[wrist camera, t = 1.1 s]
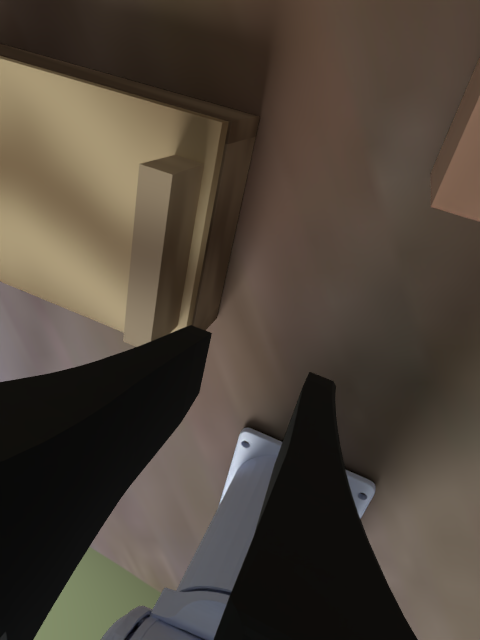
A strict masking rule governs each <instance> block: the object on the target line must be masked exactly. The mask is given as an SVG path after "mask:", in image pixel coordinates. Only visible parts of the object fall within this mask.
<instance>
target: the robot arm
mask: <svg viewBox="0 0 480 640" xmlns="http://www.w3.org/2000/svg"><path fill="white" fill-rule="evenodd" d="M211 334H212V333H210V332H207V331H205V330H202V329H200V328H197V327H195V326H192V325H189V326H187V327H184V328H182V329H179V330H177V331H175V332H172V333H170V334H167V335H165V336H163V337H160V338H158V339H156V340H153V341H151V342H148V343H146V344H143V345H140V346H138V347H135V348H133V349H130V350H128V351H125V352H122V353H119V354H116V355H113V356H110V357H107V358H104V359H101V360H98V361H95V362H92V363H89V364H85V365H82V366H78V367H75V368H70V369H66V370H62V371H58V372H54V373H49V374H45V375H39V376H33V377H28V378H22V379H16V380H11V381H5V382H0V640H33V639H34V637H35V636H36V634H37V632H38V630H39V629H40V627H41V625H42V624H43V621H44V620H45V618H46V617H47V615H48V613H49V611H50V610H51V608H52V606H53V605H54V603H55V601H56V600H57V598H58V597H59V595H60V593H61V592H62V590H63V588H64V587H65V585H66V583H67V582H68V580H69V578H70V577H71V575H72V573H73V571H74V570H75V568H76V567H77V565H78V564H79V562H80V561H81V559H82V557H83V556H84V554H85V553H86V551H87V549H88V548H89V546H90V545H91V543H92V542H93V540H94V538H95V537H96V535H97V534H98V532H99V531H100V529H101V527H102V526H103V524H104V523H105V521H106V520H107V518H108V517H109V515H110V514H111V512H112V511H113V509H114V508H115V506H116V505H117V503H118V502H119V500H120V499H121V497H122V496H123V495H124V493H125V492H126V491H127V489H128V488H129V486H130V485H131V484H132V483H133V481H134V480H135V479H136V478H137V476H138V475H139V474H140V473H141V472H142V470H143V469H144V468H145V467H146V465H147V464H148V463H149V462H150V460H151V459H152V458H153V457H154V456H155V454H156V453H157V452H158V451H159V449H160V448H161V447H162V446H163V444H164V443H165V442H166V441H167V439H168V438H169V437H170V436H171V434H172V433H173V432H174V431H175V429H176V428H177V427H178V426H179V424H180V423H181V422H182V420H183V418H184V417H185V415H186V414H187V412H188V411H189V409H190V407H191V406H192V404H193V402H194V401H195V399H196V397H197V396H198V394H199V391H200V387H201V382H202V377H203V372H204V368H205V363H206V358H207V353H208V349H209V344H210V339H211ZM335 390H336V386H335V384H334V382H333V381H331V380H329V379H326V378H324V377H321V376H319V375H316V374H314V373H311V372H309V374H308V377H307V379H306V381H305V383H304V385H303V388H302V391H301V393H300V396H299V399H298V401H297V404H296V407H295V410H294V412H293V415H292V418H291V421H290V423H289V426H288V429H287V432H286V434H285V437H284V440H283V442H281V441H279V440H277V439H274V438H272V437H270V436H267V435H265V434H263V433H261V432H258V431H256V430H254V429H251V428H244V429H242V431H241V433H240V435H239V438H238V442H237V445H236V449H235V452H234V456H233V459H232V462H231V466H230V469H229V473H228V476H227V479H226V483H225V486H224V490H223V493H222V497H221V500H220V503H219V507H218V509H217V511H216V513H215V515H214V517H213V519H212V521H211V523H210V525H209V527H208V529H207V531H206V533H205V535H204V537H203V539H202V541H201V543H200V545H199V547H198V549H197V551H196V553H195V555H194V557H193V559H192V561H191V562H190V564H189V566H188V568H187V570H186V572H185V574H184V576H183V578H182V580H181V582H180V584H179V586H178V588H177V590H176V591H175V590H172V589H169V588H164V589H163V591H162V593H161V595H160V597H159V599H158V600H157V602H156V604H155V606H154V608H153V610H152V609H150V608H147V607H145V606H138V607H136V608H135V609H133V610H131V611H130V612H129V613H128V614H126V615H125V616H123V617H121V618H120V619H119V620H117V621H116V622H115V623H114V624H113V625H112V626H111V627H110V628H109V629H108V631H107V632H106V633H105V634H104V636H103V637H102V639H101V640H418V639H417V638H416V636H415V634H414V633H413V631H412V629H411V628H410V626H409V624H408V622H407V621H406V619H405V617H404V615H403V613H402V611H401V609H400V607H399V605H398V603H397V601H396V599H395V597H394V595H393V593H392V592H391V590H390V588H389V586H388V584H387V581H386V579H385V577H384V575H383V572H382V570H381V568H380V566H379V563H378V561H377V559H376V557H375V554H374V552H373V550H372V548H371V545H370V543H369V541H368V538H367V536H366V533H365V530H364V528H363V525H362V522H361V520H360V519H361V517H362V515H363V514H364V512H365V510H366V508H367V506H368V505H369V503H370V501H371V499H372V498H373V496H374V494H375V489H376V487H375V484H374V483H373V482H372V481H370V480H368V479H366V478H364V477H362V476H359V475H357V474H355V473H352V472H350V471H348V470H346V469H345V466H344V462H343V457H342V452H341V447H340V441H339V435H338V429H337V420H336V409H335ZM245 441H247V442H248V443H249V444H248V443H246V442H245ZM361 493H364V494H366V495H363V494H361Z"/></svg>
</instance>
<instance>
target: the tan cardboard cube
mask: <svg viewBox="0 0 480 640" xmlns="http://www.w3.org/2000/svg"><path fill="white" fill-rule="evenodd" d="M431 207H432V208H436V209H439V210H442V211H446V212H449V213H452V214H456V215H459V216H462V217H466V218H469V219H472V220H476V221H479V222H480V57H479V60H478V62H477V64H476V67H475V69H474V71H473V74H472V76H471V79H470V81H469V83H468V86H467V88H466V90H465V93H464V95H463V98H462V100H461V102H460V105H459V107H458V109H457V112H456V114H455V117H454V119H453V121H452V124H451V126H450V128H449V131H448V133H447V135H446V138H445V140H444V143H443V145H442V147H441V150H440V152H439V154H438V157H437V159H436V162H435V164H434V166H433V169H432V171H431Z"/></svg>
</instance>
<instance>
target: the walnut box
mask: <svg viewBox="0 0 480 640" xmlns="http://www.w3.org/2000/svg"><path fill="white" fill-rule="evenodd" d="M0 56H3V57H6V58H10V59H13V60H16V61H20V62H23V63H27V64H30V65H34V66H37V67H41V68H44V69H48V70H51V71H55V72H58V73H62V74H65V75H69V76H72V77H76V78H79V79H82V80H86V81H89V82H93V83H96V84H100V85H103V86H107V87H110V88H114V89H117V90H121V91H124V92H128V93H131V94H135V95H138V96H141V97H145V98H148V99H152V100H155V101H159V102H162V103H166V104H169V105H173V106H176V107H180V108H183V109H187V110H190V111H194V112H197V113H201V114H204V115H207V116H211V117H214V118H218V119H221V120H225V121H228V122H229V124H228V129H227V135H226V140H225V145H224V151H223V156H222V162H221V167H220V173H219V178H218V184H217V189H216V195H215V200H214V206H213V211H212V217H211V222H210V227H209V233H208V238H207V244H206V249H205V255H204V260H203V266H202V271H201V277H200V282H199V288H198V293H197V299H196V304H195V309H194V315H193V320H192V326H195V327H197V328H200V329H202V330H206V329H207V328H208V327H209V326H210V325H211V324H212V323H213V322H214V321H215V319H216V318H217V315H218V310H219V305H220V301H221V296H222V292H223V287H224V282H225V278H226V273H227V268H228V264H229V259H230V254H231V250H232V245H233V240H234V236H235V231H236V226H237V222H238V217H239V213H240V208H241V203H242V199H243V194H244V189H245V185H246V180H247V175H248V171H249V166H250V161H251V157H252V152H253V147H254V143H255V138H256V134H257V129H258V124H259V120H260V116H256V115H253V114H249V113H245V112H242V111H238V110H235V109H231V108H228V107H224V106H221V105H217V104H213V103H210V102H206V101H203V100H199V99H196V98H192V97H188V96H185V95H181V94H178V93H174V92H171V91H167V90H164V89H160V88H156V87H153V86H149V85H146V84H142V83H139V82H135V81H132V80H128V79H124V78H121V77H117V76H114V75H110V74H107V73H103V72H100V71H96V70H92V69H89V68H85V67H82V66H78V65H75V64H71V63H68V62H64V61H60V60H57V59H53V58H50V57H46V56H43V55H39V54H36V53H32V52H28V51H25V50H21V49H18V48H14V47H11V46H7V45H4V44H0Z"/></svg>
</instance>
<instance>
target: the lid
mask: <svg viewBox="0 0 480 640" xmlns="http://www.w3.org/2000/svg"><path fill="white" fill-rule="evenodd" d="M228 124H229V122H228V121H225V120H221V119H218V118H214V117H211V116H207V115H204V114H201V113H197V112H194V111H190V110H187V109H183V108H180V107H176V106H173V105H169V104H166V103H162V102H159V101H155V100H152V99H148V98H145V97H141V96H138V95H135V94H131V93H128V92H124V91H121V90H117V89H114V88H110V87H107V86H103V85H100V84H96V83H93V82H89V81H86V80H82V79H79V78H76V77H72V76H69V75H65V74H62V73H58V72H55V71H51V70H48V69H44V68H41V67H37V66H34V65H30V64H27V63H23V62H20V61H16V60H13V59H10V58H6V57H3V56H0V281H1V282H3V283H5V284H8V285H10V286H13V287H15V288H18V289H20V290H22V291H25V292H27V293H30V294H32V295H34V296H37V297H39V298H42V299H44V300H46V301H49V302H51V303H54V304H56V305H59V306H61V307H63V308H66V309H68V310H71V311H73V312H75V313H78V314H80V315H83V316H85V317H87V318H90V319H92V320H95V321H97V322H100V323H102V324H104V325H107V326H109V327H112V328H114V329H116V330H119V331H121V332H124V338H123V342H126V343H128V344H131V345H133V346H135V347H138V346H140V345H143V344H146V343H148V342H151V341H153V340H156V339H158V338H160V337H163V336H165V335H167V334H170V333H172V332H175V331H177V330H179V329H182V328H184V327H187V326H189V325H192V320H193V315H194V309H195V304H196V299H197V293H198V288H199V282H200V277H201V271H202V266H203V260H204V255H205V249H206V244H207V238H208V233H209V227H210V222H211V217H212V211H213V206H214V200H215V195H216V189H217V184H218V178H219V173H220V167H221V162H222V156H223V151H224V145H225V140H226V135H227V129H228Z"/></svg>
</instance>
